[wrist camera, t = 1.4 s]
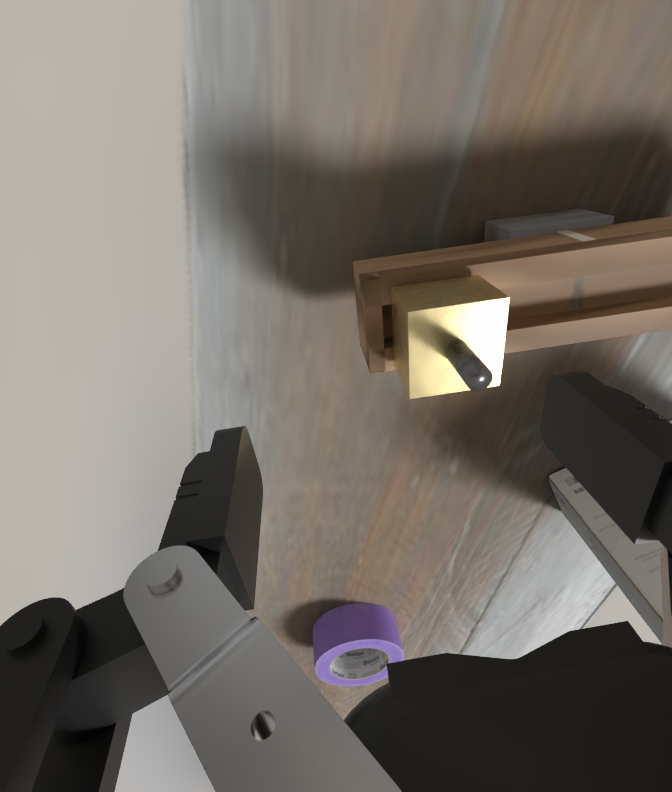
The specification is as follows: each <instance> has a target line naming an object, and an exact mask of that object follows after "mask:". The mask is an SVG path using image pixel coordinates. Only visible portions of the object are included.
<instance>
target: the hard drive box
mask: <svg viewBox="0 0 672 792" xmlns="http://www.w3.org/2000/svg"><path fill="white" fill-rule="evenodd" d="M668 422H670V423H671V424H672V420H670V421H668ZM548 480H549V483H550V485H551V488H552V490H553V492H554V495H555V497H556V499H557V502H558V504H559V506H560V509H561V511H562V513H563V514H564V516H565V517H566V518H567V520H568V521H569V522H570V523H571V525H572V526H573V527H574V528H575V530H576V531H577V532H578V534H579V535H580V536H581V537H582V539H583V540H584V541H585V543H586V544H587V545H588V547H589V548H590V549H591V551H592V552H593V553H594V555H595V556H596V557H597V559H598V560H599V561H600V562H601V564H602V565H603V567H604V568H605V569H606V571H607V572H608V573H609V575H610V576H611V577H612V579H613V580H614V581H615V582H616V584H617V585H618V586H619V588H620V589H621V590H622V592H623V593H624V594H625V596H626V597H627V598H628V600H629V601H630V602H631V604H632V605H633V606H634V608H635V609H636V610H637V612H638V613H639V614H640V615H641V617H642V618H643V619H644V621H645V622H646V623H647V625H648V626H649V627H650V629H651V630H652V631H653V633H654V634H655V635H656V636H657V638H658V639H659V640H660V642H661V643H662V639H663V606H662V583H661V554H662V552H663V549H664V546H663V545H662V544H661V543H660V542H659V541H653V542H647V543H641V544H636V545H634V543H633V542H632V541H631V540H630V539H629V538H628V537H627V536H626V534H625V533H624V532H623V531H622V530H621V529H620V528H619V527H618V525H617V524H616V523H615V522H614V521H613V520H612V519H611V518H610V517H609V515H608V514H607V513H606V512H605V511H604V510H603V509H602V508H601V506H600V505H599V504H598V503H597V502H596V501H595V500H594V499H593V497H592V496H591V495H590V494H589V493H588V492H587V491H586V490H585V488H584V487H583V486H582V485H581V484H580V483H579V482H578V481H577V479H576V478H575V477H574V476H573V475H572V474H571V473H570V472H569V470H568V469H567V468H564V469H562V470H560V471H558V472H555V473H553V474H551V475H550V476H549V479H548Z"/></svg>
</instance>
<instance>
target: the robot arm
mask: <svg viewBox="0 0 672 792" xmlns="http://www.w3.org/2000/svg"><path fill="white" fill-rule="evenodd" d="M541 431H542V436H543V439H544V441H545V443H546V445H547V447H548V448H549V449H550V450H551V451H552V452H553V454H554V455H555V456H556V457H557V458H558V459H559V460H560V461H561V463H562V464H563V465H564V466H565V467H566V468H567V469H568V470H569V472H570V473H571V474H572V475H573V476H574V477H575V478H576V479H577V481H578V482H579V483H580V484H581V485H582V486H583V487H584V488H585V490H586V491H587V492H588V493H589V494H590V495H591V496H592V497H593V499H594V500H595V501H596V502H597V503H598V504H599V505H600V506H601V508H602V509H603V510H604V511H605V512H606V513H607V514H608V515H609V517H610V518H611V519H612V520H613V521H614V522H615V523H616V524H617V525H618V527H619V528H620V529H621V530H622V531H623V532H624V533H625V534H626V536H627V537H628V538H629V539H630V540H631V541H632V542H633V543H634V545H636V544H641V543H647V542H653V541H659V542H660V543H661V544H662V545H663V546H664V549H663V552H662V554H661V583H662V606H663V639H662V645H659V644H655V643H650V642H643V641H642V640H641V638H640V637H639V636H638V634H637V633H636V632H635V630H634V629H633V627H632V626H631V625H630V623H629V622H628V621H625V622H619V623H614V624H609V625H603V626H597V627H592V628H585V629H580V630H574V631H569V632H567V633H565V634H563V635H561V636H560V637H558V638H556V639H554V640H552V641H550V642H548V643H547V644H545V645H543V646H541V647H539V648H537V649H535V650H534V651H532V652H530V653H528V654H526V655H524V656H522V657H520V658H518V659H500V658H490V657H480V656H470V655H460V654H450V653H444V654H439V655H433V656H427V657H422V658H416V659H410V660H405V661H399V662H393V663H388V664H386V665H387V672H388V680H389V683H388V684H386V685H384V686H382V687H380V688H378V689H377V690H375V691H374V692H372V693H371V694H370V695H368V696H367V697H366V698H364V699H363V700H362V701H361V702H360V703H359V704H358V705H357V706H356V707H355V708H354V709H353V710H352V711H351V712H350V713H349V714H348V716H347V717H346V718H345V719H344V720H343V719H342V718H341V717H340V716H339V714H338V713H337V712H336V711H335V709H334V708H333V707H332V706H331V705H330V703H329V702H328V701H327V700H326V699H325V697H324V696H323V695H322V694H321V692H320V691H319V690H318V689H317V688H316V686H315V685H314V684H313V683H312V682H311V680H310V679H309V678H308V677H307V675H306V674H305V673H304V672H303V671H302V669H301V668H300V667H299V666H298V664H297V663H296V662H295V661H294V660H293V658H292V657H291V656H290V655H289V654H288V652H287V651H286V650H285V649H284V647H283V646H282V645H281V644H280V643H279V641H278V640H277V639H276V638H275V637H274V635H273V634H272V633H271V632H270V630H269V629H268V628H267V627H266V626H265V625H264V623H263V622H262V621H261V620H259V619H258V618H257V617H254V618H253V619H252V618H251V617H250V616H249V615H248V614H247V613H246V612H245V611H246V610H251V609H254V601H255V588H256V575H257V562H258V549H259V537H260V524H261V511H262V498H263V486H262V478H261V473H260V469H259V466H258V462H257V459H256V456H255V452H254V449H253V446H252V442H251V439H250V436H249V432H248V430H247V428H246V427H245V426H242V427H236V428H230V429H223V430H217V431H216V432H215V434H214V438H213V441H212V445H211V449H210V451H209V452H203V453H198V454H197V455H196V456H195V457H194V459H193V460H192V461H191V462H190V463H189V464H188V466H187V467H186V468H185V471H184V474H183V477H182V480H181V483H180V485H181V486H180V487H179V489H178V492H177V495H176V500H175V501H174V504H173V507H172V510H171V513H170V516H169V519H168V522H167V525H166V528H165V531H164V534H163V537H162V540H161V543H160V546H159V549H158V551H157V552H155V553H154V554H152V555H150V556H149V557H147V558H146V559H145V560H143V561H142V562H141V563H140V564H139V565H138V566H137V567H136V568H135V569H134V571H133V572H132V573H131V575H130V576H129V578H128V580H127V582H126V585H125V588H123V589H122V590H119V591H117V592H115V593H113V594H111V595H109V596H106V597H104V598H102V599H100V600H97V601H95V602H93V603H91V604H89V605H86V606H84V607H82V608H80V609H77V610H75V609H74V607H73V606H72V605H71V604H70V603H69V602H68V601H67V600H65V599H62V598H48V599H43V600H40V601H37V602H35V603H32V604H30V605H28V606H27V607H25V608H23V609H21V610H20V611H18V612H17V613H16V614H14V615H13V616H11V617H10V618H9V619H8V620H7V621H5V622H4V623H3V624H2V625H1V626H0V792H114V791H115V786H116V782H117V778H118V774H119V769H120V765H121V760H122V756H123V752H124V748H125V743H126V739H127V735H128V730H129V726H130V722H131V717H132V713H134V712H136V711H138V710H140V709H142V708H144V707H145V706H147V705H149V704H151V703H153V702H155V701H156V700H158V699H160V698H162V697H164V696H166V695H168V696H169V699H170V701H171V703H172V705H173V707H174V709H175V711H176V714H177V716H178V718H179V720H180V721H181V724H182V725H183V728H184V729H185V731H186V734H187V736H188V738H189V740H190V742H191V744H192V746H193V747H194V750H195V751H196V754H197V756H198V758H199V760H200V762H201V764H202V766H203V767H204V770H205V772H206V774H207V776H208V777H209V780H210V782H211V784H212V785H213V787H214V790H215V791H216V792H672V424H671V423H670V422H668V421H667V420H665V419H661V416H660V415H658V414H657V413H655V412H654V411H652V410H651V409H647V406H645V405H644V404H642V403H641V402H640V401H638V400H637V399H635V398H634V397H632V396H631V395H629V394H627V393H624V392H622V391H619V390H616V389H614V388H611V387H609V386H605V385H604V384H603V383H601V382H600V381H598V380H597V379H596V378H594V377H593V376H592V375H590V374H589V373H587V372H585V371H579V372H573V373H567V374H561V375H555V376H552V377H551V378H550V379H549V382H548V385H547V391H546V398H545V404H544V410H543V417H542V423H541Z"/></svg>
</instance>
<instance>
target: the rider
mask: <svg viewBox="0 0 672 792" xmlns="http://www.w3.org/2000/svg"><path fill="white" fill-rule="evenodd" d="M509 301H510V297H509V296H507V295H506V294H505V293H503V292H502V291H500V290H499V289H497V288H496V287H494V286H493V285H492V284H490V283H489V282H487V281H486V280H484V279H483V278H482V277H480V276H479V275H473V276H466V277H459V278H452V279H445V280H438V281H431V282H424V283H417V284H410V285H404V286H397V287H391V307H392V329H393V352H394V366H395V368H396V371H397V373H398V375H399V377H400V379H401V381H402V383H403V385H404V388H405V390H406V392H407V394H408V396H409V398H410V399H414V398H420V397H427V396H434V395H440V394H447V393H454V392H460V391H467V390H472V391H481V390H484V389H486V388H487V387H494V386H500V379H501V371H502V362H503V353H504V345H505V336H506V327H507V319H508V310H509Z"/></svg>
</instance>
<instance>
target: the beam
mask: <svg viewBox="0 0 672 792" xmlns="http://www.w3.org/2000/svg"><path fill="white" fill-rule="evenodd" d="M614 217H615V216H612V215H607V214H603V213H598V212H594V211H589V210H585V209H580V208H575V209H568V210H561V211H554V212H547V213H540V214H533V215H526V216H519V217H512V218H505V219H498V220H490V221H486V223H485V237H484V243H478V244H471V245H464V246H457V247H450V248H443V249H436V250H429V251H422V252H415V253H408V254H401V255H393V256H386V257H379V258H372V259H365V260H358V261H353V272H354V283H355V294H356V304H357V315H358V326H359V337H360V345H361V348H362V351H363V354H364V357H365V360H366V363H367V365H368V368H369V371H370V373H377V372H384V371H391V370H396V368H395V366H394V352H393V329H392V307H391V287H397V286H404V285H410V284H417V283H424V282H431V281H438V280H445V279H452V278H459V277H466V276H473V275H479V276H480V277H482V278H483V279H484V280H486V281H487V282H489V283H490V284H492V285H493V286H494V287H496V288H497V289H499V290H500V291H502V292H503V293H505V294H506V295H507V296H509V297H510V301H509V310H508V319H507V327H506V336H505V345H504V353H503V354H505V353H512V352H519V351H526V350H533V349H539V348H546V347H553V346H560V345H566V344H573V343H580V342H587V341H593V340H600V339H607V338H614V337H620V336H627V335H634V334H641V333H647V332H654V331H661V330H668V329H672V216H667V217H660V218H653V219H646V220H639V221H632V222H625V223H618V224H613V222H614Z"/></svg>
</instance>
